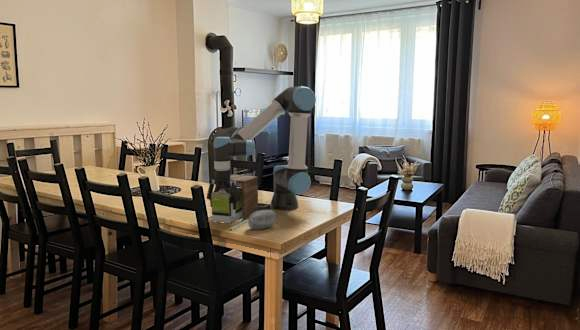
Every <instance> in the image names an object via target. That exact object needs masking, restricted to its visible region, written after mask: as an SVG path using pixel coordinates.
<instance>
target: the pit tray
mask: <svg viewBox="0 0 580 330" xmlns="http://www.w3.org/2000/svg"><path fill="white" fill-rule="evenodd" d="M271 209H272V208H271V203H263V202H262V203H261V202H258V211H260V210H271Z"/></svg>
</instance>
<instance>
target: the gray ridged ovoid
mask: <svg viewBox="0 0 580 330" xmlns="http://www.w3.org/2000/svg"><path fill="white" fill-rule="evenodd" d="M248 220H249V221H248V222H247V223H248V227H249V228H250V229H251V230H253V231H258V230H264V229H267V228H270V227H272V226H274V225H275V223H276V221H277V214H276V213H275V211H274V210H273V209H272V210H260V211H256V212H254V213H252V214H251V215H250V217H249V218H248Z"/></svg>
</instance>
